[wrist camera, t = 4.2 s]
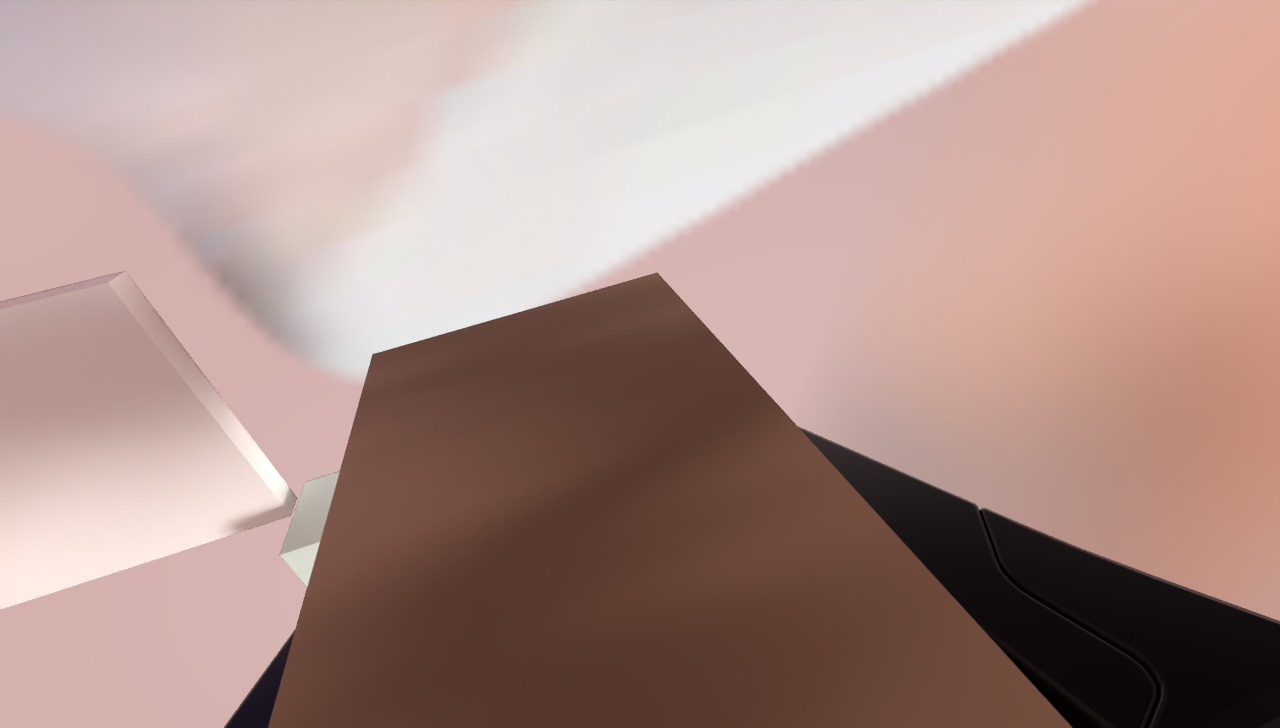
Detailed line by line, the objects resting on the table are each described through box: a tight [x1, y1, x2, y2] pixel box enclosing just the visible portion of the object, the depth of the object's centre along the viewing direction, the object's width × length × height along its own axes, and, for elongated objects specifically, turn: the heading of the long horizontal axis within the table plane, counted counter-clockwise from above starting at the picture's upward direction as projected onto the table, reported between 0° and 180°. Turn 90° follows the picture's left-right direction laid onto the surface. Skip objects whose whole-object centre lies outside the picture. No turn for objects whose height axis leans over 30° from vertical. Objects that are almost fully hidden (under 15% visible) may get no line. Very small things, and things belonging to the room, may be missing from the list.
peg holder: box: [279, 471, 340, 587], centre depth 19 cm, size 9×9×3 cm
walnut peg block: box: [268, 273, 1072, 728], centre depth 6 cm, size 4×4×7 cm
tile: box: [0, 271, 297, 609], centre depth 14 cm, size 8×8×1 cm
